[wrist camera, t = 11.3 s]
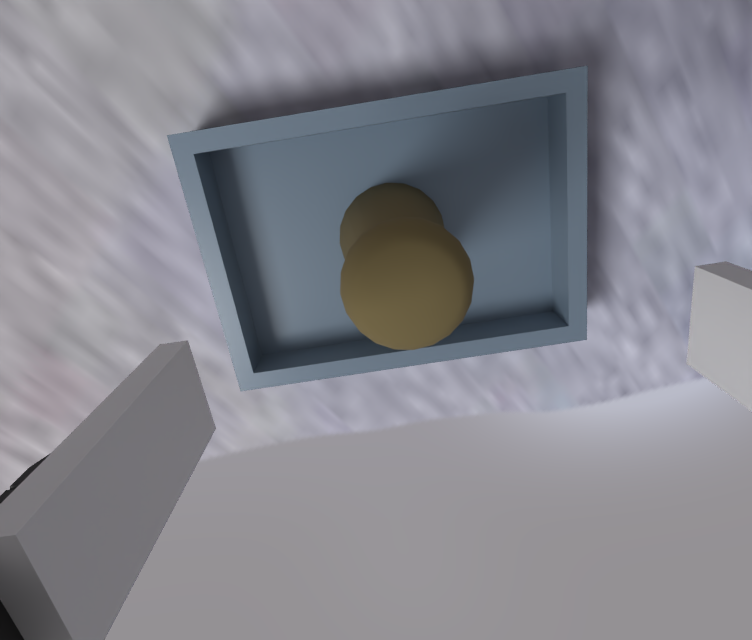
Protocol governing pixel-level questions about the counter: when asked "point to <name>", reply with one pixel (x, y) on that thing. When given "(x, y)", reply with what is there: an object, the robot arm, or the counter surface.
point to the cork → (402, 268)
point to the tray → (394, 165)
